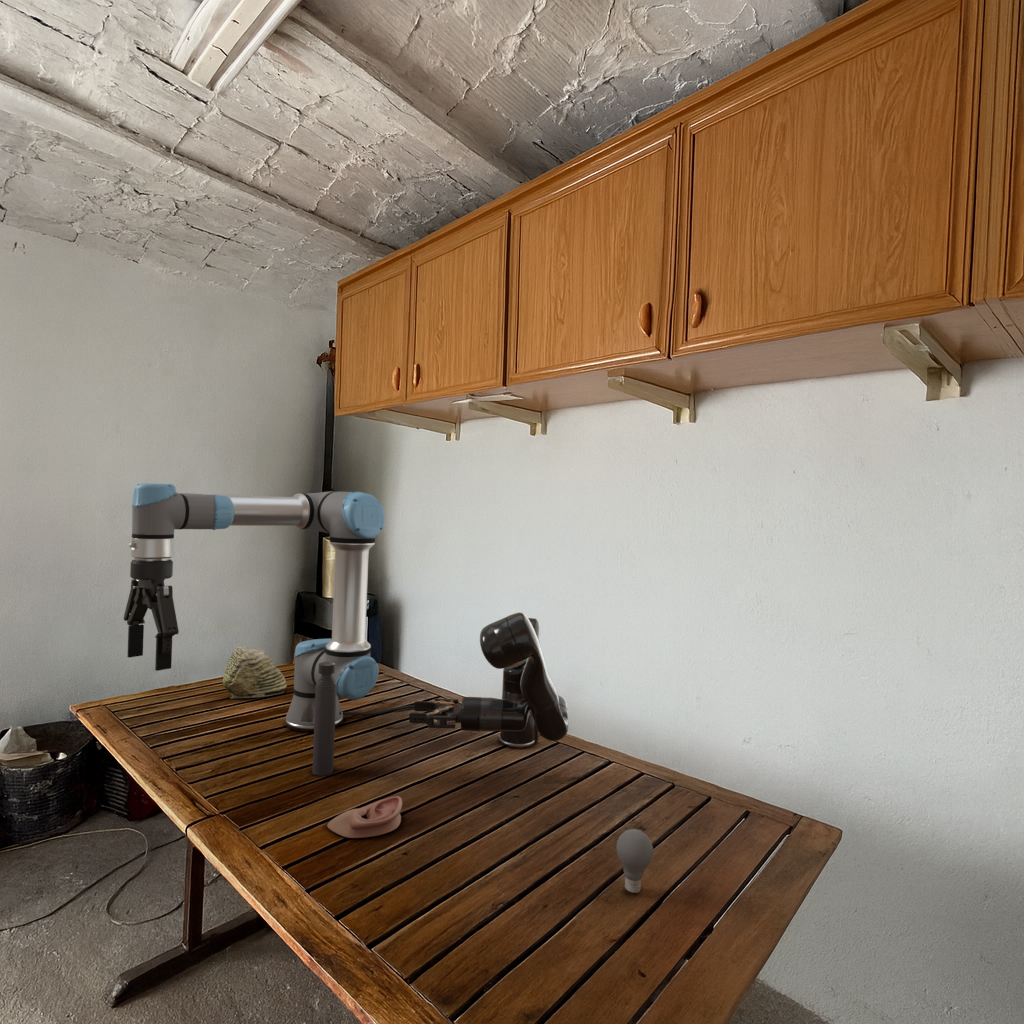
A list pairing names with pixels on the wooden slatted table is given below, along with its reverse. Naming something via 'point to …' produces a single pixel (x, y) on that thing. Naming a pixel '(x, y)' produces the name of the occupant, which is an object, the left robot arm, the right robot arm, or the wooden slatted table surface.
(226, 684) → the fossil
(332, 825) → the anatomical model
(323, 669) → the cap
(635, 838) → the light bulb
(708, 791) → the wooden slatted table surface
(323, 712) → the bottle
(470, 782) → the wooden slatted table surface
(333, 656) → the left robot arm
